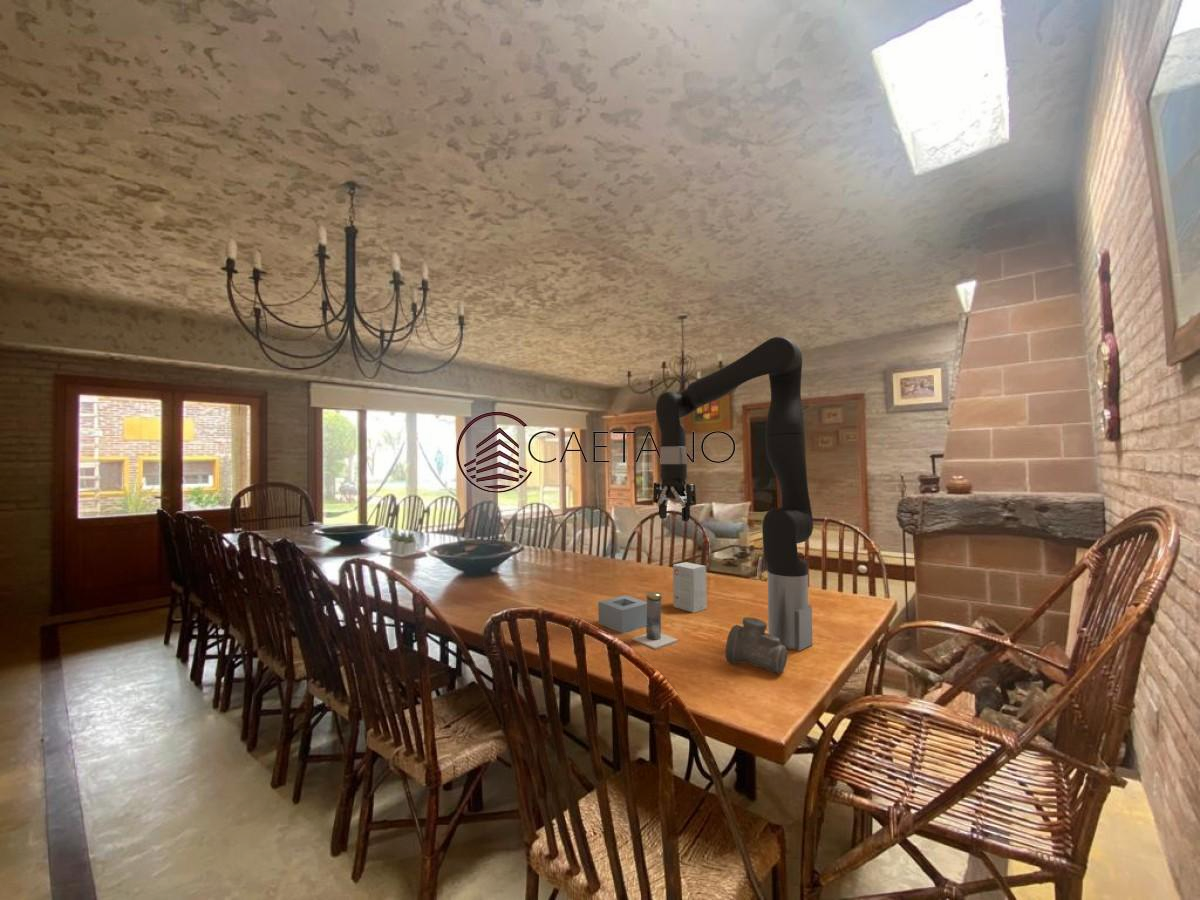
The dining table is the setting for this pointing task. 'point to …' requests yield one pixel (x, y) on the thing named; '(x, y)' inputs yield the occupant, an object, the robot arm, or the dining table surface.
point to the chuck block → (623, 613)
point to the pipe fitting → (755, 646)
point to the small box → (689, 587)
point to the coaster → (655, 641)
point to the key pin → (653, 615)
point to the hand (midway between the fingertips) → (674, 519)
